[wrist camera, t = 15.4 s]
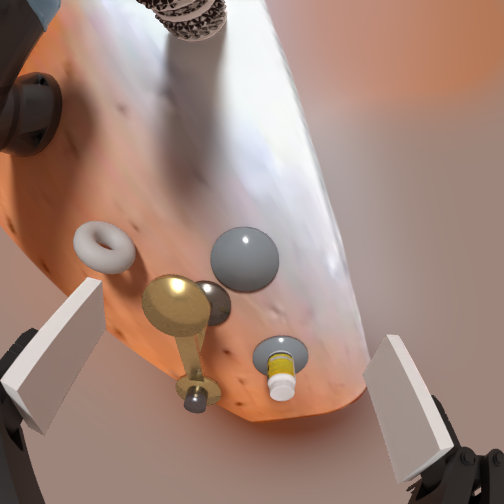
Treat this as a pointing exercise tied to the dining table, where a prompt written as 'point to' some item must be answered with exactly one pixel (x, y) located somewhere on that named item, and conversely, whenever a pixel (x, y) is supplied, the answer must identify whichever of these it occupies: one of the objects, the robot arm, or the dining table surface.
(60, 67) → the dining table surface
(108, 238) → the donut
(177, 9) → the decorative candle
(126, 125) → the dining table surface
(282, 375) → the supplement bottle
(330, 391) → the dining table surface
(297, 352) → the dish low
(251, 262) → the glossy grey puck
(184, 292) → the balance
